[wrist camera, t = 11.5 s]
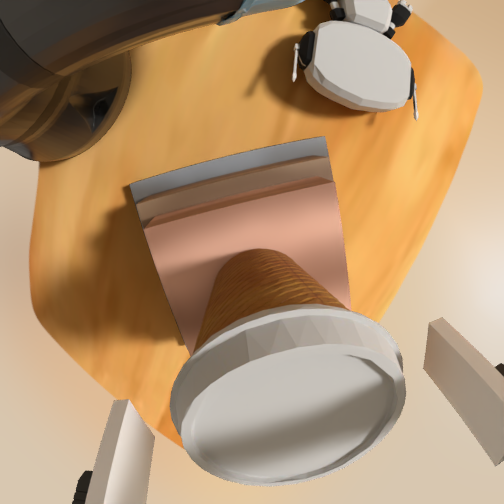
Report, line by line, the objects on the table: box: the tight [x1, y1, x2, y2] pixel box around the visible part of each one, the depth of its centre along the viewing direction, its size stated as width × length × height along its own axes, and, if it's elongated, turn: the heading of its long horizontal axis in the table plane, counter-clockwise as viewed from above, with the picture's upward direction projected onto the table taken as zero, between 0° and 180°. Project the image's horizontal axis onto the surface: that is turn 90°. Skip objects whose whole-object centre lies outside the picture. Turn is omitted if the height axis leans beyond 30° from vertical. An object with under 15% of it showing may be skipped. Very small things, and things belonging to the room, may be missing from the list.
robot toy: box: [292, 0, 418, 121], centre depth 23 cm, size 12×4×15 cm
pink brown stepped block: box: [129, 136, 351, 356], centre depth 26 cm, size 18×18×10 cm
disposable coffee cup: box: [170, 248, 406, 486], centre depth 16 cm, size 10×10×12 cm
